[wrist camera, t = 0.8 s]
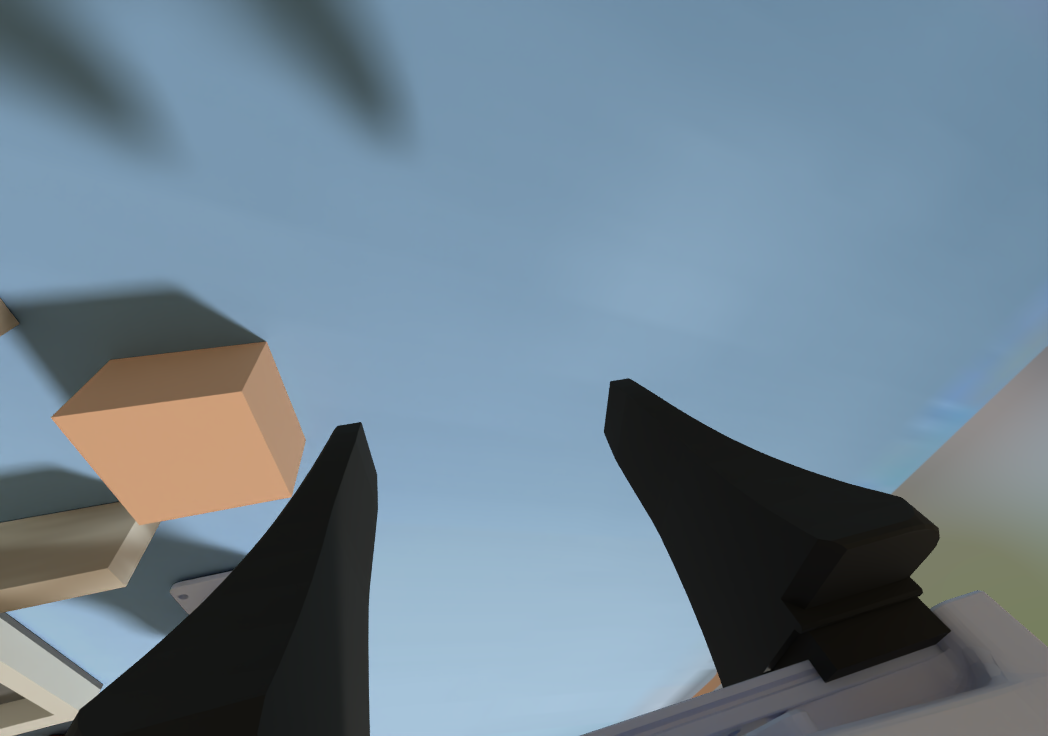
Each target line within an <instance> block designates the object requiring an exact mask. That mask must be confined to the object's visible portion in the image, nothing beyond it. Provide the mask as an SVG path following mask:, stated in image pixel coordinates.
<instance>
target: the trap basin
mask: <svg viewBox="0 0 1048 736" xmlns="http://www.w3.org/2000/svg"><path fill="white" fill-rule="evenodd" d="M102 686H103V684H101V683H100V682H99V681H97V680H96V679H95V678H93V677H92V676H91V675H89V674H88V673H86V672H85V671H84V670H82V669H81V668H80V667H78V666H77V665H76V664H74V663H73V662H71V661H70V660H69V659H67V658H66V657H65V656H63V655H62V654H61V653H59V652H58V651H56V650H55V649H54V648H52V647H51V646H50V645H48V644H47V643H46V642H44V641H43V640H41V639H40V638H39V637H37V636H36V635H35V634H33V633H32V632H31V631H29V630H28V629H26V628H25V627H24V626H22V625H21V624H20V623H18V622H17V621H16V620H14V619H13V618H11V617H10V616H9V615H7V614H6V613H5V612H3V613H0V736H14V735H18V734H21V733H25V732H29V731H33V730H37V729H41V728H45V727H49V726H52V725H56V724H60V723H64V722H68V721H72V720H74V718H75V717H76V715H77V713H78V711H79V710H80V709H81V708H82V707H83V706H84V705H86V704H87V703H88V702H89V701H91V700H92V699H93V698H94V697H96V696H97V695H98V694H99V692H100V690H101V688H102Z"/></svg>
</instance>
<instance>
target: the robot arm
mask: <svg viewBox="0 0 1048 736" xmlns="http://www.w3.org/2000/svg"><path fill="white" fill-rule="evenodd" d="M604 433H605V436H606V438H607V441H608V443H609V446H610V448H611V450H612V453H613V455H614V457H615V459H616V461H617V463H618V465H619V467H620V468H621V470H622V472H623V473H624V475H625V477H626V478H627V480H628V482H629V483H630V485H631V487H632V488H633V490H634V492H635V493H636V495H637V497H638V498H639V500H640V502H641V503H642V505H643V507H644V508H645V510H646V512H647V513H648V515H649V517H650V518H651V520H652V522H653V523H654V525H655V527H656V529H657V531H658V533H659V534H660V536H661V539H662V541H663V543H664V545H665V547H666V549H667V551H668V553H669V556H670V558H671V560H672V562H673V564H674V566H675V569H676V571H677V573H678V575H679V578H680V580H681V582H682V584H683V587H684V589H685V591H686V593H687V596H688V598H689V601H690V603H691V605H692V608H693V610H694V613H695V615H696V618H697V620H698V623H699V625H700V627H701V630H702V632H703V635H704V637H705V640H706V643H707V645H708V648H709V651H710V653H711V656H712V659H713V661H714V664H715V667H716V669H717V672H718V675H719V678H720V680H721V683H722V686H723V688H722V689H719V690H716V691H713V692H710V693H707V694H704V695H701V696H698V697H695V698H692V699H689V700H686V701H683V702H680V703H677V704H674V705H671V706H668V707H665V708H662V709H659V710H656V711H653V712H650V713H647V714H644V715H641V716H638V717H635V718H632V719H629V720H626V721H623V722H620V723H617V724H614V725H611V726H608V727H605V728H602V729H598V730H595V731H592V732H589V733H586V734H583V735H580V736H1048V647H1047V646H1046V645H1045V644H1044V643H1043V642H1041V641H1040V640H1039V639H1038V638H1037V637H1036V636H1034V635H1033V634H1032V633H1031V632H1030V631H1028V629H1026V628H1025V627H1024V626H1023V625H1022V624H1020V623H1019V622H1018V621H1017V620H1016V619H1015V618H1014V617H1012V616H1011V615H1010V614H1009V613H1008V612H1007V611H1006V610H1004V609H1003V608H1002V607H1001V606H1000V605H999V604H997V603H996V602H995V601H994V600H993V599H992V598H990V597H989V596H988V595H987V594H986V593H985V592H983V591H978V590H977V591H974V592H971V593H968V594H965V595H961V596H958V597H955V598H952V599H949V600H946V601H944V602H941V603H939V604H937V605H936V606H934V607H932V608H931V609H929V608H928V607H927V606H926V605H925V604H924V603H923V602H922V601H921V600H920V599H919V598H918V596H920V595H921V594H922V593H923V591H922V588H921V587H920V586H919V585H918V584H916V583H915V582H914V581H913V580H912V579H911V578H910V575H911V574H912V573H913V572H914V571H915V570H916V569H917V568H918V567H919V565H920V564H921V563H922V562H923V561H924V560H925V559H926V558H927V557H928V555H929V554H930V553H931V552H932V550H933V549H934V548H935V547H936V545H937V543H938V541H939V528H938V527H937V526H935V525H934V524H933V523H932V522H931V521H929V520H928V519H927V518H926V517H925V516H923V515H922V514H921V513H920V512H919V511H917V510H916V509H915V508H914V507H913V506H911V505H910V504H909V503H908V502H907V501H905V500H904V499H903V498H901V497H898V496H894V495H890V494H887V493H883V492H879V491H875V490H871V489H867V488H864V487H860V486H856V485H852V484H849V483H845V482H842V481H839V480H836V479H832V478H829V477H826V476H823V475H820V474H817V473H814V472H811V471H808V470H805V469H802V468H799V467H797V466H794V465H791V464H789V463H786V462H784V461H781V460H778V459H776V458H773V457H771V456H768V455H766V454H764V453H761V452H759V451H757V450H754V449H752V448H750V447H748V446H746V445H744V444H741V443H739V442H737V441H735V440H733V439H731V438H729V437H727V436H725V435H723V434H721V433H719V432H717V431H716V430H714V429H712V428H710V427H708V426H706V425H705V424H703V423H701V422H699V421H698V420H696V419H694V418H692V417H691V416H689V415H687V414H686V413H684V412H682V411H681V410H679V409H677V408H676V407H674V406H673V405H671V404H669V403H668V402H666V401H665V400H663V399H662V398H660V397H658V396H657V395H655V394H654V393H652V392H651V391H649V390H647V389H646V388H644V387H643V386H641V385H639V384H638V383H636V382H634V381H633V380H631V379H629V378H628V379H622V380H616V381H610V388H609V396H608V404H607V411H606V419H605V427H604ZM377 512H378V491H377V473H376V470H375V466H374V463H373V460H372V456H371V453H370V450H369V446H368V443H367V440H366V436H365V433H364V430H363V426H362V423H361V422H359V423H353V424H347V425H340V426H337V427H336V428H335V430H334V431H333V433H332V435H331V436H330V438H329V440H328V442H327V443H326V445H325V447H324V448H323V450H322V452H321V453H320V455H319V457H318V458H317V460H316V462H315V463H314V465H313V467H312V468H311V470H310V471H309V473H308V474H307V476H306V477H305V479H304V480H303V482H302V484H301V485H300V487H299V488H298V490H297V491H296V493H295V494H294V495H293V497H292V498H291V500H290V501H289V502H288V504H287V505H286V506H285V508H284V509H283V511H282V512H281V513H280V515H279V516H278V517H277V519H276V520H275V521H274V523H273V524H272V525H271V527H270V528H269V529H268V530H267V532H266V533H265V534H264V535H263V537H262V538H261V539H260V540H259V541H258V543H257V544H256V545H255V546H254V547H253V549H252V550H251V551H250V552H249V553H248V554H247V556H246V557H245V558H244V559H243V560H242V561H241V562H240V563H239V564H238V566H237V567H236V568H235V569H234V570H233V571H229V572H224V573H219V574H215V575H210V576H205V577H201V578H196V579H191V580H187V581H182V582H178V583H175V584H174V585H172V588H171V590H170V594H171V595H172V596H173V597H174V599H175V600H176V601H177V602H178V603H179V604H180V605H181V606H182V608H183V609H184V610H185V611H186V612H187V613H188V614H189V616H188V617H187V618H186V619H184V620H183V621H182V622H181V623H180V624H179V625H178V626H177V627H176V628H175V629H174V630H173V631H171V632H170V633H169V634H168V635H167V636H166V637H165V638H164V639H163V640H162V641H160V642H159V643H158V644H157V645H156V646H155V647H154V648H153V649H151V650H150V651H149V652H148V653H147V654H146V655H145V656H143V657H142V658H141V659H140V660H139V661H138V662H136V663H135V664H134V665H133V666H132V667H130V668H129V669H128V670H127V671H126V672H124V673H123V674H122V675H121V676H120V677H118V678H117V679H116V680H115V681H114V682H112V683H111V684H110V685H109V686H108V687H106V688H105V689H104V690H103V691H102V692H100V693H99V694H98V695H97V696H96V697H94V698H93V699H92V700H91V701H89V702H88V703H87V704H86V705H84V706H83V707H82V708H81V709H80V710H79V711H78V713H77V715H76V717H75V718H74V720H73V722H72V724H71V726H70V727H69V729H68V731H67V733H66V734H65V736H370V721H369V660H368V618H369V591H370V580H371V571H372V561H373V552H374V542H375V532H376V522H377Z"/></svg>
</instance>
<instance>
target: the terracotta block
mask: <svg viewBox="0 0 1048 736" xmlns="http://www.w3.org/2000/svg"><path fill="white" fill-rule="evenodd" d="M51 418H52V420H53V421H54V422H55V423H56V424H57V426H58V427H59V428H60V429H61V431H62V432H63V433H64V434H65V435H66V437H67V438H68V439H69V440H70V441H71V443H72V444H73V445H74V446H75V448H76V449H77V450H78V451H79V452H80V454H81V455H82V456H83V457H84V459H85V460H86V461H87V462H88V463H89V465H90V466H91V467H92V468H93V470H94V471H95V472H96V473H97V474H98V476H99V477H100V478H101V479H102V480H103V482H104V483H105V484H106V485H107V487H108V488H109V489H110V490H111V491H112V493H113V494H114V495H115V496H116V498H117V499H118V500H119V501H120V502H121V504H122V505H123V506H124V507H125V508H126V510H127V511H128V512H129V513H130V515H131V516H132V517H133V518H134V519H135V521H136V522H137V523H138V524H139V525H144V524H149V523H155V522H160V521H166V520H171V519H176V518H182V517H187V516H192V515H198V514H203V513H208V512H214V511H219V510H225V509H230V508H235V507H241V506H246V505H251V504H257V503H262V502H267V501H273V500H278V499H284V498H289V497H292V493H293V489H294V485H295V481H296V477H297V473H298V469H299V465H300V461H301V457H302V453H303V449H304V445H305V441H306V439H305V437H304V434H303V432H302V429H301V427H300V424H299V422H298V419H297V417H296V414H295V412H294V409H293V407H292V404H291V402H290V399H289V397H288V394H287V392H286V389H285V387H284V384H283V382H282V379H281V377H280V374H279V372H278V369H277V367H276V364H275V362H274V359H273V357H272V354H271V352H270V349H269V346H268V344H267V342H258V343H250V344H241V345H233V346H224V347H216V348H207V349H199V350H190V351H182V352H173V353H164V354H156V355H147V356H139V357H130V358H122V359H113V360H110V361H108V362H107V363H106V364H105V365H104V366H103V367H102V368H101V369H100V370H99V371H98V372H97V373H96V374H95V375H94V376H93V377H92V378H91V379H90V380H89V381H88V382H87V383H86V384H85V385H84V386H83V387H82V388H81V389H80V390H79V391H78V392H77V393H76V394H75V395H74V396H73V397H71V398H70V399H69V400H68V401H67V402H66V403H65V404H64V405H63V406H62V407H61V408H60V409H59V410H58V411H57V412H56V413H55V414H54V415H53V416H52V417H51Z"/></svg>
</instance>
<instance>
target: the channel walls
mask: <svg viewBox="0 0 1048 736" xmlns="http://www.w3.org/2000/svg"><path fill="white" fill-rule="evenodd" d="M17 325H19V322H18V321H17V320H16V318H15V317H14V316H13V314H12V313H11V312H10V310H9V309H8V308H7V307H6V305H5V304H4V303H3V301H2V300H1V299H0V336H2V335H3V334H5V333H6V332H8V331H9V330H11V329H12V328H14V327H16V326H17ZM160 522H161V521H160ZM160 522H155V523H149V524H144V525H139V524H138V523H137V522H136V521H135V519H134V518H133V517H132V516H131V515H130V513H129V512H128V511H127V510H126V508H125V507H124V506H123V505H122V504H121V502H116V503H110V504H104V505H99V506H93V507H87V508H82V509H76V510H70V511H65V512H59V513H53V514H48V515H42V516H36V517H30V518H25V519H19V520H13V521H8V522H2V523H0V613H3V612H8V611H13V610H18V609H22V608H27V607H32V606H37V605H41V604H46V603H51V602H56V601H60V600H65V599H70V598H75V597H79V596H84V595H89V594H94V593H98V592H103V591H108V590H113V589H117V588H122V587H126V586H127V584H128V582H129V580H130V578H131V576H132V574H133V573H134V571H135V569H136V567H137V565H138V563H139V561H140V559H141V558H142V556H143V554H144V552H145V550H146V548H147V546H148V544H149V543H150V541H151V539H152V537H153V535H154V533H155V531H156V529H157V528H158V526H159V524H160Z"/></svg>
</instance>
